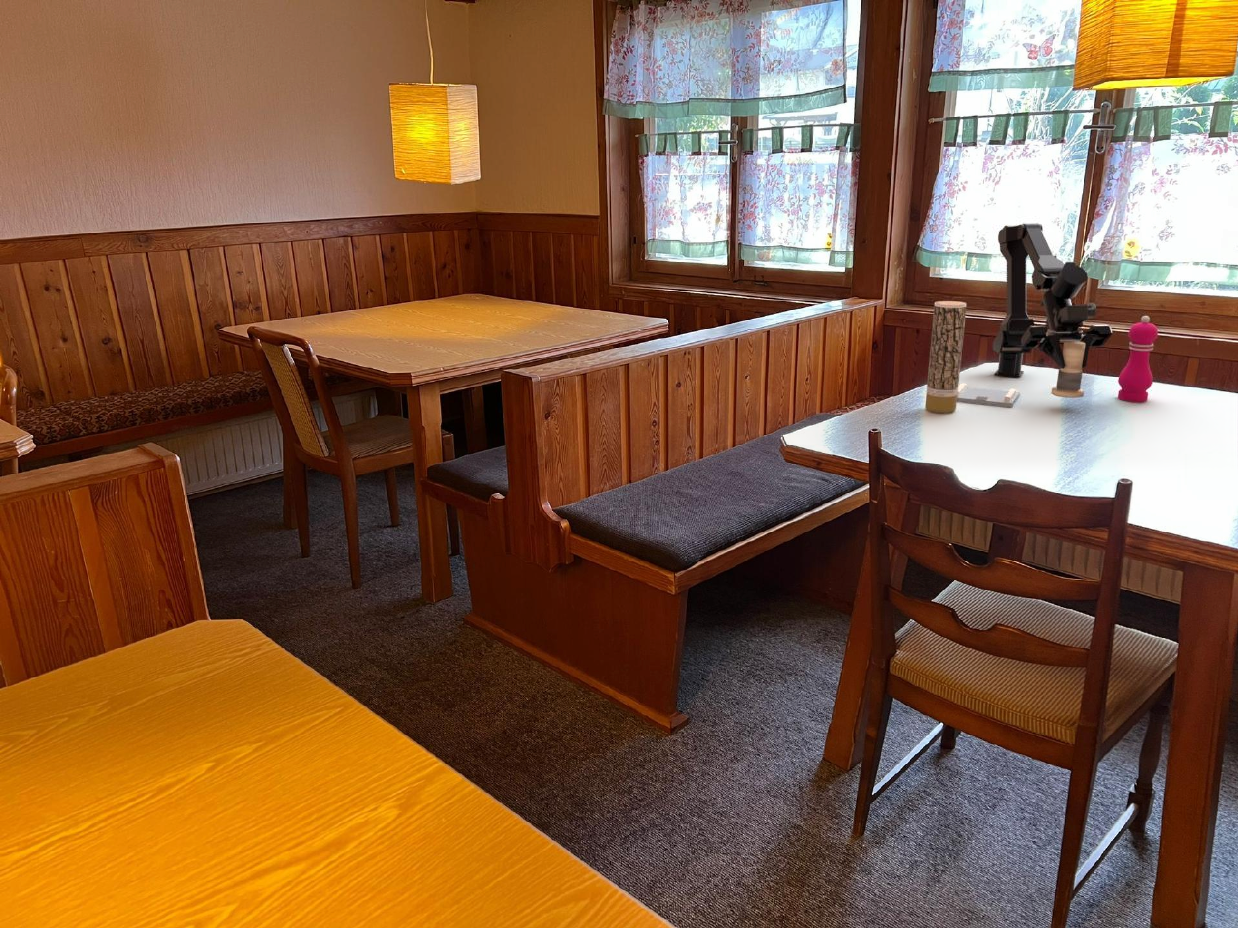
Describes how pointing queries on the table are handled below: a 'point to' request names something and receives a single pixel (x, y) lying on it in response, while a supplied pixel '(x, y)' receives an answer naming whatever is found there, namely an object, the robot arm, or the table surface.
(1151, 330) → the pepper mill
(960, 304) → the wooden log
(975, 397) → the board
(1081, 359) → the bobbin
